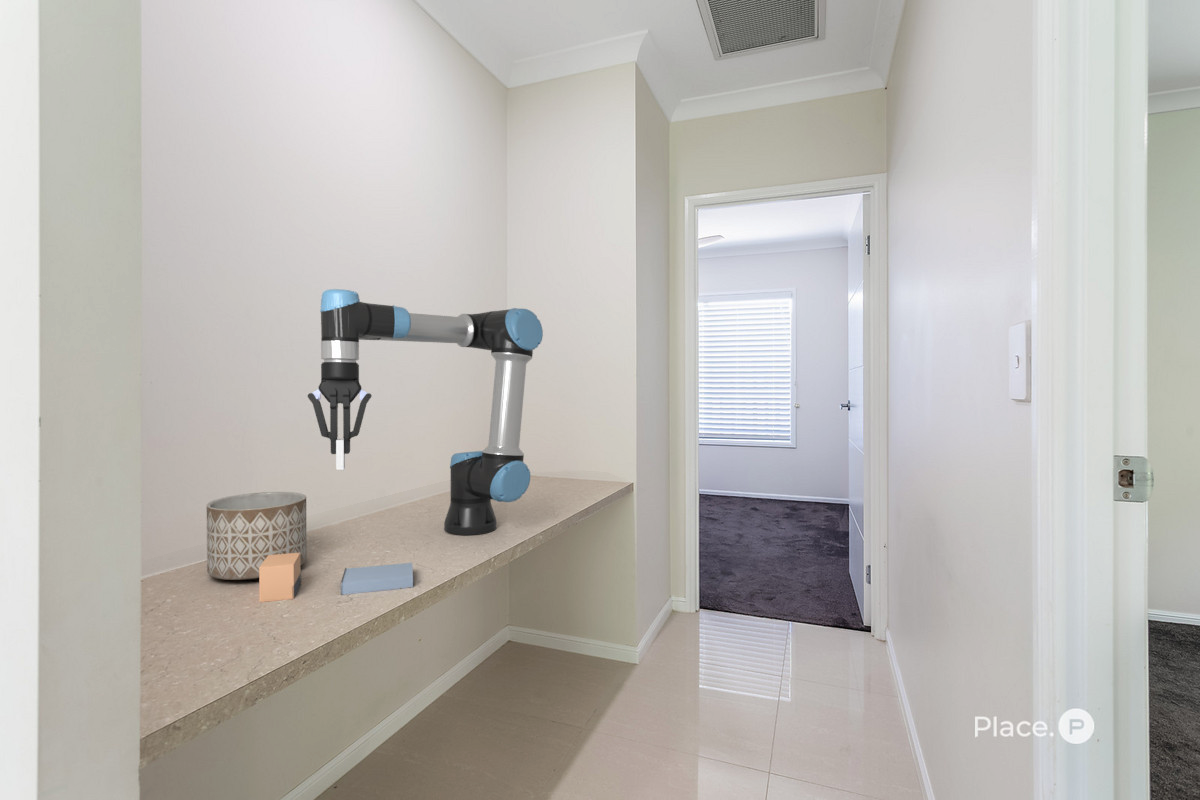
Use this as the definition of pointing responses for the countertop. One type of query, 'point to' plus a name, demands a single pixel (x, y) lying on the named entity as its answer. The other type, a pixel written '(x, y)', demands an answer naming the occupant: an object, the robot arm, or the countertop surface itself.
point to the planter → (253, 532)
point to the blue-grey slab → (377, 578)
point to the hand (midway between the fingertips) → (340, 468)
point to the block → (279, 577)
